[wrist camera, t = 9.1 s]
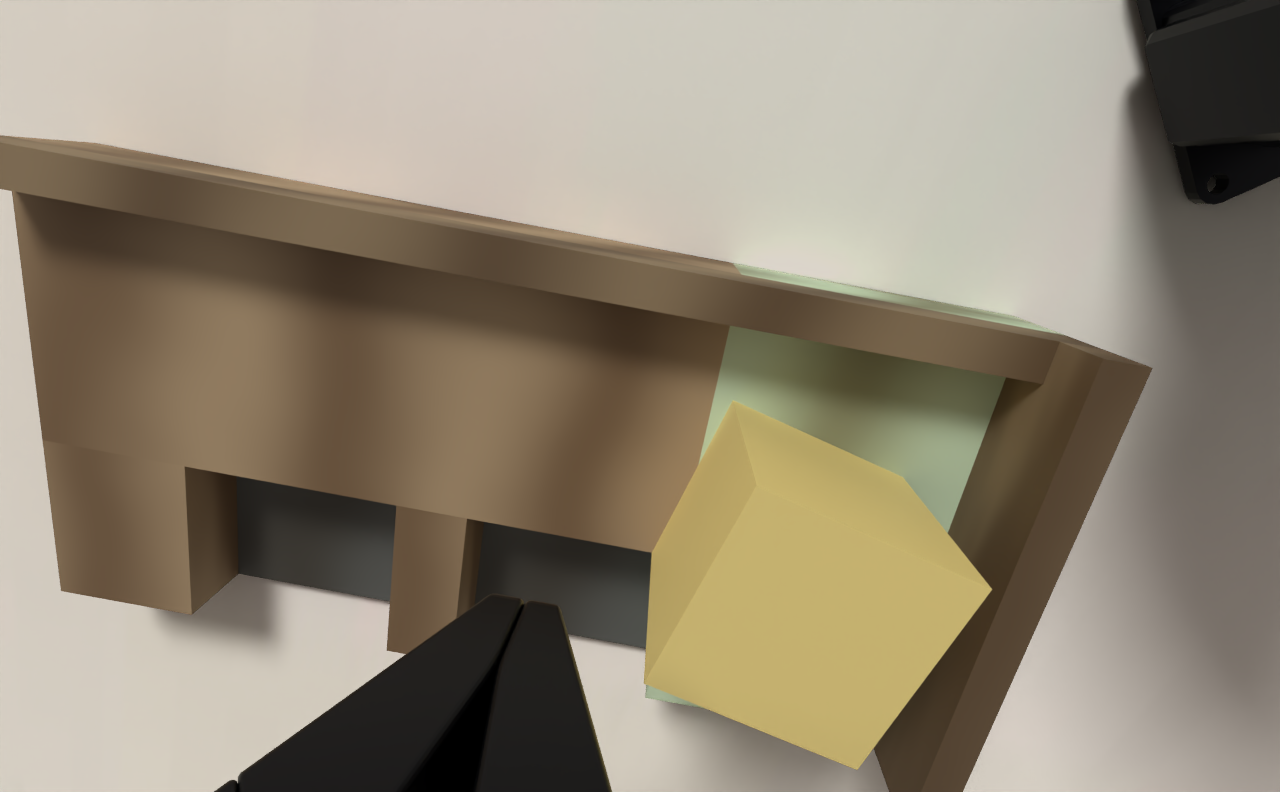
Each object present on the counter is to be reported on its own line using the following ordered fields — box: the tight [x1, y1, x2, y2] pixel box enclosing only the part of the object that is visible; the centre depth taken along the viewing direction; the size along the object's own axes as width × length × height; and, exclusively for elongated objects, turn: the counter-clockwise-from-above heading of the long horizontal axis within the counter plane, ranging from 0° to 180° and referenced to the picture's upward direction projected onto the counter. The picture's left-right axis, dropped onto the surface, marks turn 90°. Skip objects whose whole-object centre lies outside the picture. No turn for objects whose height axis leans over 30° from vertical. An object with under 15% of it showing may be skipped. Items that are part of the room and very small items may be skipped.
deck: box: [0, 136, 1152, 792], centre depth 17 cm, size 26×13×6 cm, turn 80°
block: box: [644, 400, 992, 770], centre depth 15 cm, size 5×5×5 cm
